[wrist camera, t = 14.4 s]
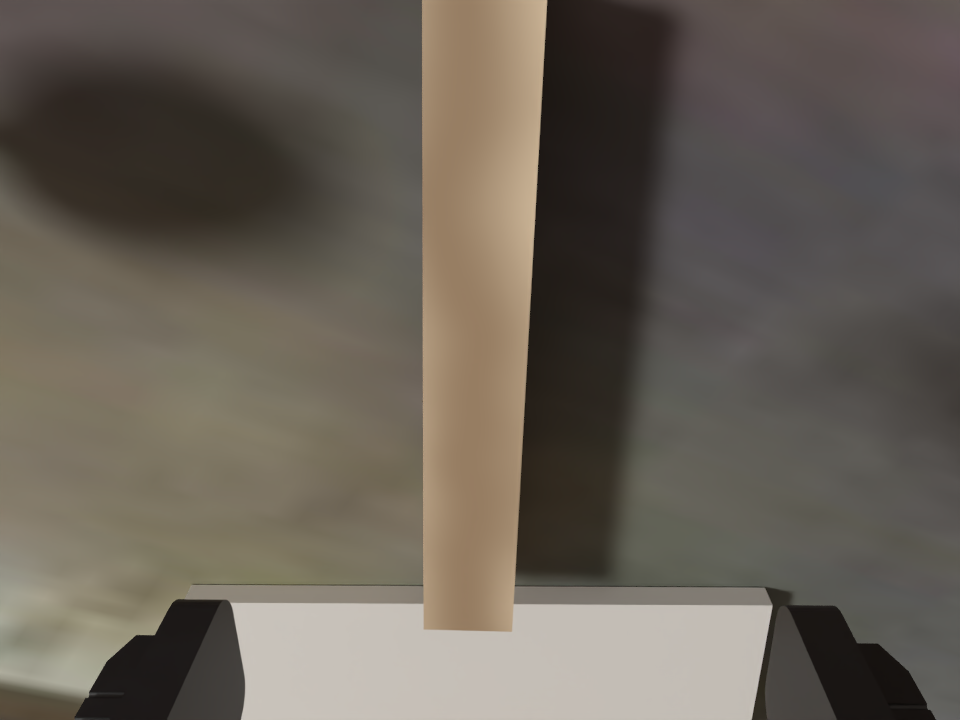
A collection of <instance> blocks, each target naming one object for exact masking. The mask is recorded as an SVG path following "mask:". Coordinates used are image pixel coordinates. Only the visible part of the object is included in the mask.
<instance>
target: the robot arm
mask: <svg viewBox="0 0 960 720" xmlns="http://www.w3.org/2000/svg"><path fill="white" fill-rule="evenodd" d="M244 699H245V676H244V670H243V664H242V659H241V653H240V647H239V642H238V636H237V631H236V625H235V619H234V614H233V609H232V606H231V604H230V602H229V601H228V600H207V599H178V600H176V601H174V602H173V603H172V604H171V606H170V608H169V610H168V611H167V613H166V615H165V617H164V619H163V621H162V623H161V625H160V626H159V628H158V630H157V632H156V634H155V635H136V636H135V637H134V638H133V639H132V640H130V641H129V642H128V643H127V644H126V645H125V646H124V647H123V648H122V649H120V650H119V651H118V652H117V653H116V654H115V655H114V656H113V657H111V658H110V659H109V660H108V661H107V662H106V664H105V666H104V667H103V669H102V671H101V673H100V674H99V676H98V678H97V680H96V681H95V683H94V685H93V686H92V688H91V690H90V692H89V698H85V700H84V702H83V704H82V705H81V707H80V709H79V711H78V712H77V714H76V716H75V720H241V717H242V712H243V707H244ZM765 704H766V713H767V719H768V720H936V719H935V717H934V715H933V714H932V712H931V710H928V709H927V703H926V701H925V700H924V698H923V696H922V694H921V692H920V691H919V689H918V687H917V685H916V684H915V682H914V680H913V678H912V677H911V675H910V673H909V671H908V670H906V669H905V668H904V667H903V666H902V665H901V664H900V663H899V662H898V661H897V660H895V659H894V658H893V657H892V656H891V655H890V654H889V653H888V652H887V651H885V650H884V649H883V648H882V647H881V646H880V645H879V644H858V643H857V642H856V640H855V638H854V637H853V635H852V633H851V631H850V629H849V627H848V625H847V623H846V621H845V619H844V617H843V615H842V613H841V612H840V610H839V609H838V608H837V607H835V606H801V605H783V606H781V607H780V608H779V610H778V612H777V617H776V622H775V628H774V635H773V641H772V647H771V653H770V659H769V665H768V671H767V678H766V685H765Z"/></svg>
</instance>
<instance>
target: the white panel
mask: <svg viewBox="0 0 960 720" xmlns="http://www.w3.org/2000/svg"><path fill="white" fill-rule="evenodd" d="M185 599H207V600H228V601H229V602H230V604H231V606H232V609H233V614H234V619H235V625H236V631H237V636H238V642H239V647H240V653H241V659H242V664H243V670H244V676H245V699H244V707H243V712H242V717H241V720H752V715H753V709H754V704H755V699H756V693H757V688H758V682H759V677H760V671H761V666H762V661H763V655H764V650H765V644H766V639H767V633H768V628H769V623H770V617H771V612H772V606H773V605H772V603H771V601H770V598H769V596H768V594H767V592H766V589H765V588H751V587H541V586H515V588H514V606H513V624H512V632H499V631H461V630H424V607H423V586H330V585H191V587H190V589H189V591H188V593H187V595H186V597H185Z"/></svg>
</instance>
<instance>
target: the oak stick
mask: <svg viewBox="0 0 960 720" xmlns="http://www.w3.org/2000/svg"><path fill="white" fill-rule="evenodd" d="M546 13H547V0H422V161H423V607H424V630H461V631H499V632H512V624H513V606H514V588H515V570H516V552H517V534H518V516H519V498H520V480H521V462H522V444H523V426H524V408H525V390H526V372H527V354H528V336H529V318H530V300H531V282H532V264H533V246H534V228H535V210H536V192H537V174H538V157H539V139H540V121H541V103H542V85H543V67H544V49H545V31H546Z"/></svg>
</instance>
